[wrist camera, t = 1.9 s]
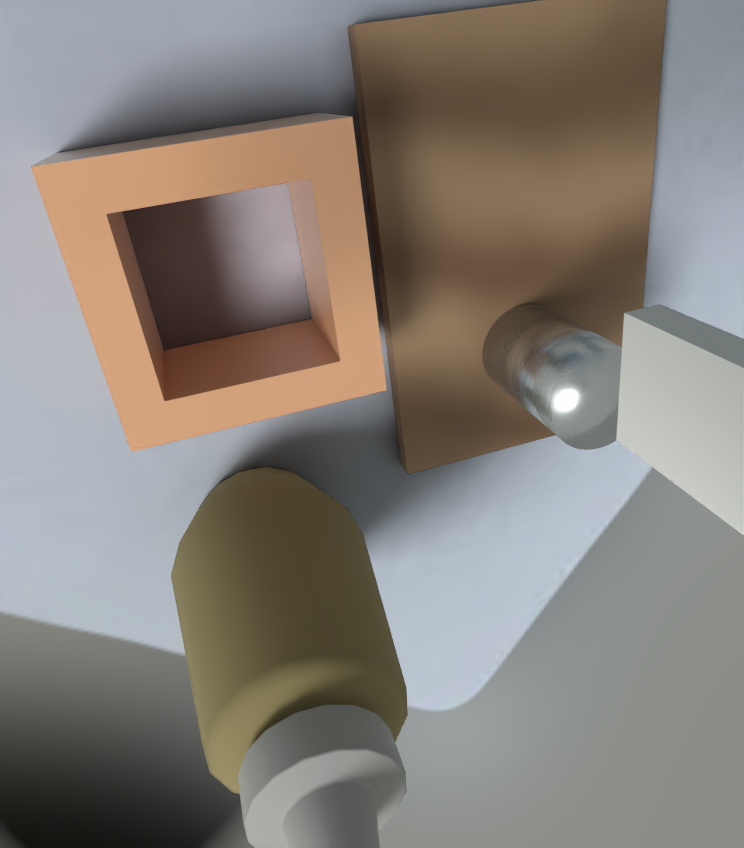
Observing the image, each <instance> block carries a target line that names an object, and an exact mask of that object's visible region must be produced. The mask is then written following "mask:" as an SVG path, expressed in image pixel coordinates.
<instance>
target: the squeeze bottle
mask: <svg viewBox="0 0 744 848" xmlns="http://www.w3.org/2000/svg"><path fill="white" fill-rule="evenodd" d="M171 578H172V584H173V589H174V594H175V600H176V605H177V610H178V616H179V621H180V627H181V632H182V637H183V643H184V648H185V653H186V659H187V664H188V669H189V675H190V679H191V686H192V691H193V696H194V702H195V707H196V712H197V717H198V723H199V728H200V734H201V739H202V744H203V748H204V752H205V756H206V759H207V763H208V767H209V770H210V773H211V774H212V775H214V776H215V777H216V778H217V779H218V780H219V781H221V783H223V784H224V785H225V786H226V787H227V788H228V789H230V790H231V791H232V792H235V793H238V794H240V797H241V806H242V814H243V822H244V827H245V830H246V834H247V839H248V842H249V843H250V844H251V845H253V846H254V847H255V848H379V836H378V832H379V831H380V830H381V829H382V828H383V827H384V826H385V825H386V824H387V823H388V822H389V821H390V820H391V819H392V818H393V817H394V816H395V814H396V812H397V810H398V808H399V806H400V804H401V802H402V800H403V798H404V795H405V794H406V773H405V769H404V766H403V763H402V761H401V758H400V755H399V752H398V750H397V747H396V744H395V741H396V739H397V737H398V735H399V733H400V730H401V728H402V726H403V724H404V722H405V720H406V717H407V692H406V685H405V682H404V678H403V675H402V671H401V667H400V664H399V660H398V657H397V653H396V650H395V646H394V643H393V639H392V636H391V632H390V628H389V625H388V621H387V618H386V614H385V611H384V607H383V604H382V600H381V597H380V593H379V589H378V586H377V582H376V579H375V575H374V572H373V568H372V565H371V561H370V558H369V554H368V550H367V547H366V543H365V540H364V536H363V533H362V531H361V530H360V528H359V527H358V525H357V523H356V522H355V520H354V519H353V517H352V516H351V514H350V513H349V511H348V509H347V508H346V507H345V506H343V505H342V504H340V503H339V502H338V501H336V500H335V499H333V498H332V497H330V496H329V495H328V494H326V493H325V492H323V491H322V490H320V489H319V488H318V487H316V486H315V485H313V484H312V483H310V482H309V481H307V480H305V479H304V478H302V477H300V476H299V475H297V474H295V473H294V472H292V471H290V470H284V469H278V468H271V467H261V468H256V469H251V470H246V471H240V472H238V473H236V474H235V475H233V476H231V477H230V478H228V479H226V480H224V481H223V482H221V483H219V484H217V485H216V487H215V488H214V489H213V490H212V491H211V493H210V494H209V495H208V496H207V498H206V499H205V500H204V501H203V503H202V504H201V505H200V507H199V509H198V511H197V513H196V514H195V516H194V518H193V520H192V521H191V523H190V525H189V527H188V529H187V530H186V532H185V534H184V536H183V537H182V539H181V541H180V543H179V546H178V550H177V554H176V558H175V562H174V566H173V570H172V573H171Z"/></svg>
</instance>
